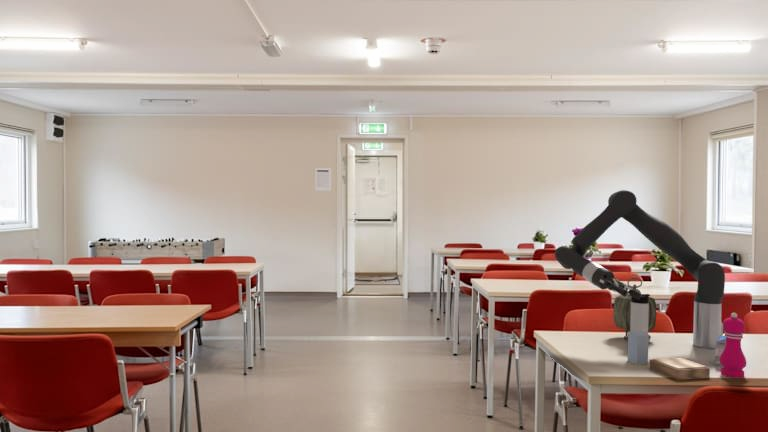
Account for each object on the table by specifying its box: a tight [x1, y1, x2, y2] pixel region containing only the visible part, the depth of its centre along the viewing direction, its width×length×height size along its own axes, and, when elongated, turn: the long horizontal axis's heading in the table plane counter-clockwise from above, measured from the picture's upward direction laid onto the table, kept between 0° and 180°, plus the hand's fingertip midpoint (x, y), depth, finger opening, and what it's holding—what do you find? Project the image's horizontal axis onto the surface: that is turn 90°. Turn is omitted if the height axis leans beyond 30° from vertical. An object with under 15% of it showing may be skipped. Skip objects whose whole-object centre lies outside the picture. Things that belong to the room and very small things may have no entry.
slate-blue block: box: [627, 331, 650, 365], centre depth 188 cm, size 4×4×10 cm
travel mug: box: [630, 293, 651, 334], centre depth 213 cm, size 6×7×20 cm
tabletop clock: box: [612, 277, 657, 341], centre depth 225 cm, size 14×9×25 cm, turn 104°
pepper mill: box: [720, 312, 747, 379], centre depth 175 cm, size 7×7×20 cm
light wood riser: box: [649, 356, 711, 381], centre depth 176 cm, size 12×12×3 cm
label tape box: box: [714, 335, 726, 367], centre depth 189 cm, size 9×4×12 cm, turn 141°
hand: (633, 295), depth 196 cm, fingers open, 8 cm apart
